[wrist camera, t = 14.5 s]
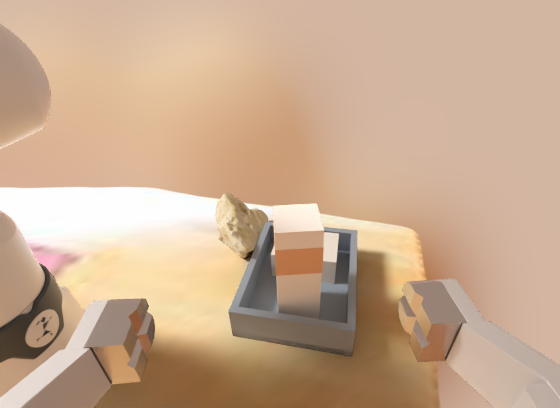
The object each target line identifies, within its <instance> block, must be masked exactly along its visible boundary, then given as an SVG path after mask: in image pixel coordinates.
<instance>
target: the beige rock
mask: <svg viewBox="0 0 560 408" xmlns="http://www.w3.org/2000/svg"><path fill="white" fill-rule="evenodd" d="M216 221H217V224H218V230H219V240H220V241H222V242H223V243H225V244H226V245H228V246H229V247H230V248H232V249H233V250H234V252H235V253H236V254H237V255H238V256H240V257H241V258H245V257H246V256H247V255H248V252H250V251H253V250H254V248H255V247H256V244H257V242H258V239H259V237H260V235H261V232H262V230H263V227H264V225H265V223H266V221H268V217H267V215H266V214H265V213H264V212H263V211H262V210H258V209H256V208H255V209H252V210H251V209H250V210H249V209H248V208H247V206H246V205H245V204H243V202H242V201H240V200H239V199H238V198H236V197H233V195H231V194H228V193H226V194H224V195H223V196H222V197H221V198H220V200H219V201H218V204H217V207H216Z"/></svg>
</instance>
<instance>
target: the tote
mask: <svg viewBox="0 0 560 408" xmlns="http://www.w3.org/2000/svg"><path fill="white" fill-rule="evenodd" d="M323 228H324V232H328V233H338V234H339V239H338V251H337V262H336V272H335V283H334V284H331V283H324V282H321V295H320V312H319V319H315V318H308V317H302V316H295V315H289V314H282V313H278V299H277V280H276V276H272V269H271V252H272V249H273V246H274V226H273V222H268V221H266V223H265V225H264V227H263V230H262V232H261V235H260V237H259V239H258V242H257V244H256V247H255V249H254V252H253V254H252V256H251V259H250V261H249V264H248V266H247V268H246V271H245V273H244V276H243V278H242V281H241V283H240V285H239V288H238V290H237V293H236V295H235V297H234V300H233V302H232V305H231V307H230V310H229V317H230V323H231V328H232V334H233V336H238V337H243V338H249V339H255V340H261V341H266V342H272V343H278V344H284V345H290V346H295V347H301V348H307V349H313V350H318V351H324V352H330V353H336V354H341V355H347V356H352V352H353V345H354V339H355V333H356V280H357V230H347V229H337V228H327V227H323Z"/></svg>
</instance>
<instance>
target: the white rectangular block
mask: <svg viewBox="0 0 560 408" xmlns="http://www.w3.org/2000/svg"><path fill="white" fill-rule="evenodd" d="M338 239H339V234H338V233H328V232H324V243H323V247H324V252H323V269H322V278H321V282H324V283H331V284H334V283H335V272H336V262H337V251H338ZM271 269H272V276H276V263H275V246H273V249H272V252H271Z"/></svg>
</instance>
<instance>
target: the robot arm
mask: <svg viewBox="0 0 560 408" xmlns="http://www.w3.org/2000/svg"><path fill="white" fill-rule="evenodd" d="M50 109H51V91H50V86H49V82H48V79H47V76H46V74H45V72H44V69H43V68H42V66H41V64H40V62H39V61H38V59H37V58H36V56H35V55H34V54H33V53H32V51H31V50H30V49H29V48H28V47H27V45H26V44H25V43H23V42H22V40H20V39H19V38H18V37H17V36H16V35H15V34H14V33H12V32H11V31H10V30H8V29H7V28H5V27H4V26H3V25H1V24H0V149H2V148H4V147H6V146H9V145H11V144H13V143H15V142H17V141H20V140H22V139H24V138H26V137H28V136H30V135H32V134H34V133H36V132H38V131H40V130H42V129H43V128H44V126H45V124H46V122H47V119H48V117H49V113H50ZM402 291H403V293H404V295H405V296H403V297H402V298H401V299H400V300H399V305H398V313H399V318H400V322H401V325H402V327H403V329H404V330H405V331H406V332H408V333H409V334H410V335H411V337H410V340H409V343H410V345H411V348H412V350H413V352H414V354H415V357H416V359H417V361H418V362H428V361H446V363H447V364H448V365H449V366H450V367H451V368H452V369H453V370H454V371H455V372H456V373H457V374H458V375H460V376H461V377H462V378H463V379H464V380H465V381H466V382H467V383H468V384H469V385H470V386H471V387H472V388H473V389H475V391H477V392H478V393H479V394H480V395H481V396H482V397H483V398H484V399H485V400H486V401H487V402H488V403H489V404H491V405H492V406H493V407H494V408H560V365H559V364H557V363H555V362H554V361H552V360H551V359H549V358H547V357H546V356H544V355H543V354H541V353H540V352H538V351H536V350H535V349H533V348H532V347H530V346H529V345H527V344H525V343H524V342H522V341H521V340H519V339H518V338H516V337H514V336H513V335H511V334H510V333H508V332H506V331H505V330H503V329H502V328H500V327H499V326H497V325H495V324H494V323H492V322H491V321H485V320H484V318H483V317H482V316H481V315H480V313H479V311H478V310H477V309H476V307H475V306H474V304H473V303H472V301H471V300H470V299H469V297H468V296H467V294H466V293H465V291H464V290H463V289H462V287H461V286H460V284H459V283H458V282H457V281H456V280H455V279H441V280H424V281H411V282H406V283H405V284H404V286H403V289H402ZM148 307H149V305H148V303H147V301H146V299H117V300H97V301H93V302H92V303H91V304H89V306H88V308H87V309H86V311H84V310H83V309H82V307H81V306H80V304H79V303H78V302H77V300H76V299H75V298H74V296H73V295H72V294H71V292H70V291H69V290H68V289H67V288H66V287H58V284H57V281H56V279H55V278H54V276H53V275H52V274H51V273H50V272H49V271H48V269H47V268H46V267H45V266H43V265H42V264H40V263H38V261H37V259H36V257H35V256H34V254H33V252H32V251H31V249H30V247H29V246H28V244H27V242H26V240H25V239H24V237H23V235H22V234H21V232H20V230H19V228H18V227H17V225H16V223H15V222H14V221H13V220H12V219H11V218H10V217H9V216H8V215H6V214H5V213H3V212H2V211H0V408H94V407H95V405H96V404H97V403H98V402H99V401H100V400H101V398H102V397H103V396H104V395H105V394H106V392H107V391H108V390H109V389H110V388H111V387H112V384H122V383H132V382H141V380H142V377H143V373H144V370H145V367H146V363H147V358H146V355H145V352H146V351H147V350H148V349H149V348H150V347H151V346H152V343H153V339H154V332H155V324H154V319H153V316H152V315H151V314H149V313H148V312H147V310H148Z"/></svg>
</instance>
